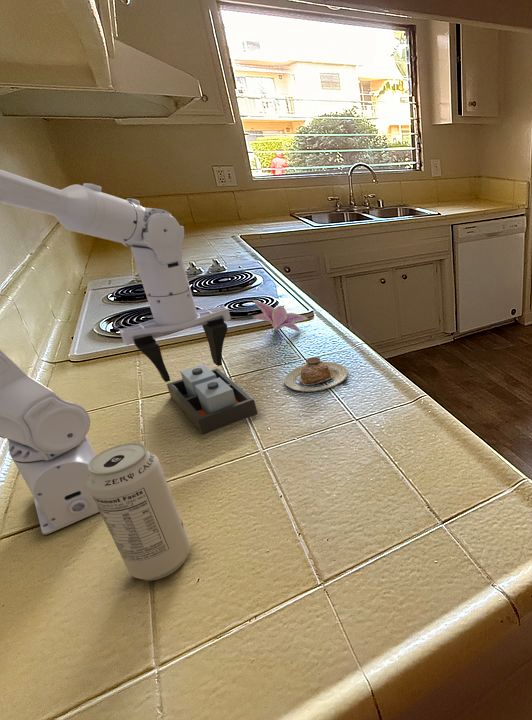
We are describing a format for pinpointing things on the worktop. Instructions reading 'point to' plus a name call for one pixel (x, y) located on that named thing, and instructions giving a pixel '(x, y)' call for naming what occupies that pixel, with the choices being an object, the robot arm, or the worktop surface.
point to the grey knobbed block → (215, 395)
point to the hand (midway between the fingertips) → (192, 371)
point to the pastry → (316, 374)
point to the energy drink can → (138, 510)
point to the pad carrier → (218, 418)
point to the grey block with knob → (196, 378)
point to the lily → (278, 317)
